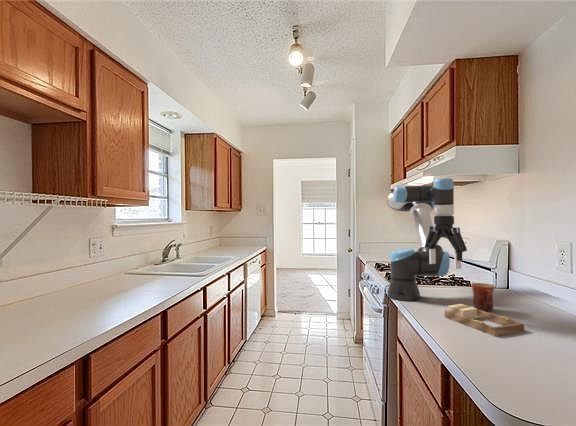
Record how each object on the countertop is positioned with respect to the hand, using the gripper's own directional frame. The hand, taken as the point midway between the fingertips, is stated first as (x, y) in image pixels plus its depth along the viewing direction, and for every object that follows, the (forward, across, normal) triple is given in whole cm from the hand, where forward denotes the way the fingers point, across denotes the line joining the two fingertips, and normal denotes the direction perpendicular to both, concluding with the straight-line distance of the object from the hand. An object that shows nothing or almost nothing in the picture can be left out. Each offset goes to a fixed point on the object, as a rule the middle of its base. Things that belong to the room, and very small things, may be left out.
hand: (444, 266), depth 133 cm
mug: (+19, +6, +14) cm, 24 cm away
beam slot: (+18, +17, -1) cm, 25 cm away
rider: (+19, +9, -1) cm, 21 cm away
